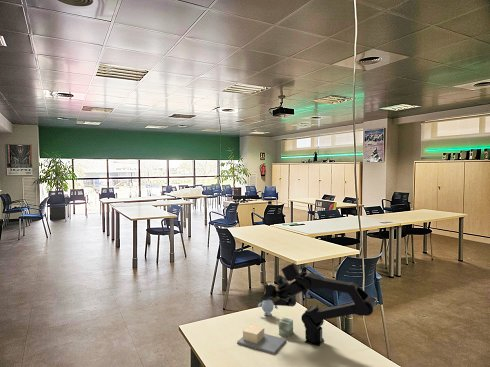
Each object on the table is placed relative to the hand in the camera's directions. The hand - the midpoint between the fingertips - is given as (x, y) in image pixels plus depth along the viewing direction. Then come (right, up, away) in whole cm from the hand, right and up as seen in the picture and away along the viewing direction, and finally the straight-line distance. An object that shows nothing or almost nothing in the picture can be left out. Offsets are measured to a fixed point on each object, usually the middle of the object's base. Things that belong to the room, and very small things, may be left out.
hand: (267, 302), depth 160 cm
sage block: (+8, -13, -4) cm, 16 cm away
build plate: (-3, -14, -12) cm, 18 cm away
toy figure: (+1, -13, +16) cm, 20 cm away
